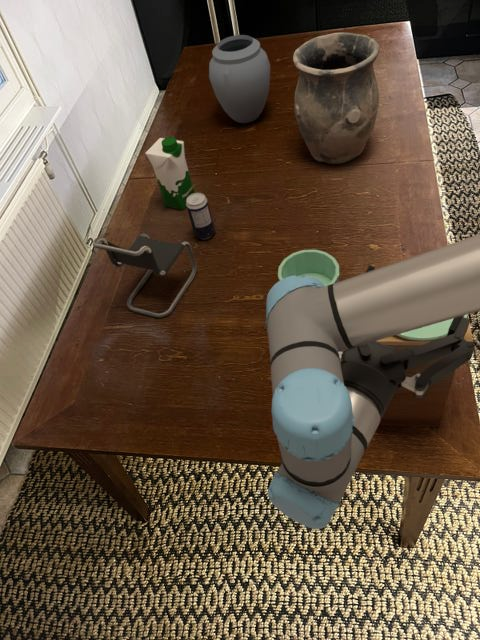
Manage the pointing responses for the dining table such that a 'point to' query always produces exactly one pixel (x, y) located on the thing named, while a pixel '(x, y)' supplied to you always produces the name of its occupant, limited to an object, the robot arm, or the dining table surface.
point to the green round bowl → (310, 266)
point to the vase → (240, 77)
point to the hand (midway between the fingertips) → (417, 286)
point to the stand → (404, 403)
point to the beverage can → (200, 215)
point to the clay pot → (336, 95)
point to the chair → (148, 263)
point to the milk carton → (171, 171)
